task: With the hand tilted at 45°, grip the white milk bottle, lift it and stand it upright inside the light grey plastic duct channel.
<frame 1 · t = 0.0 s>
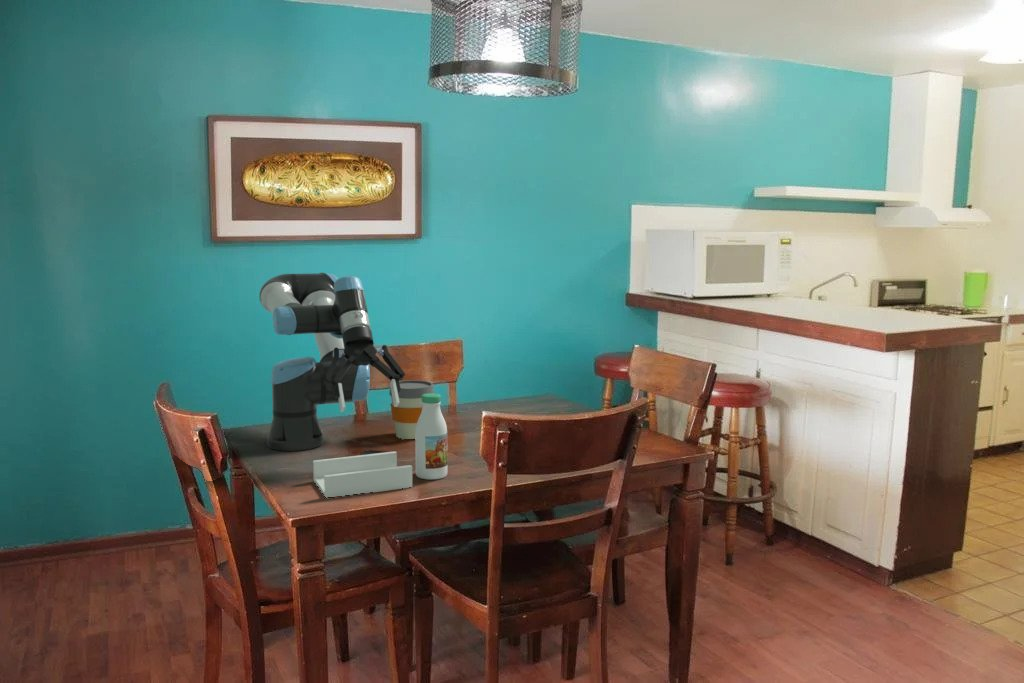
hand: (370, 407, 203), 15 cm above the table, tool tilted 35°, fingers open, 13 cm apart
phone: (368, 463, 210), on the table
duct channel: (362, 484, 192), on the table
reusable coffee cup: (412, 436, 235), on the table
milk bottle: (431, 476, 199), on the table
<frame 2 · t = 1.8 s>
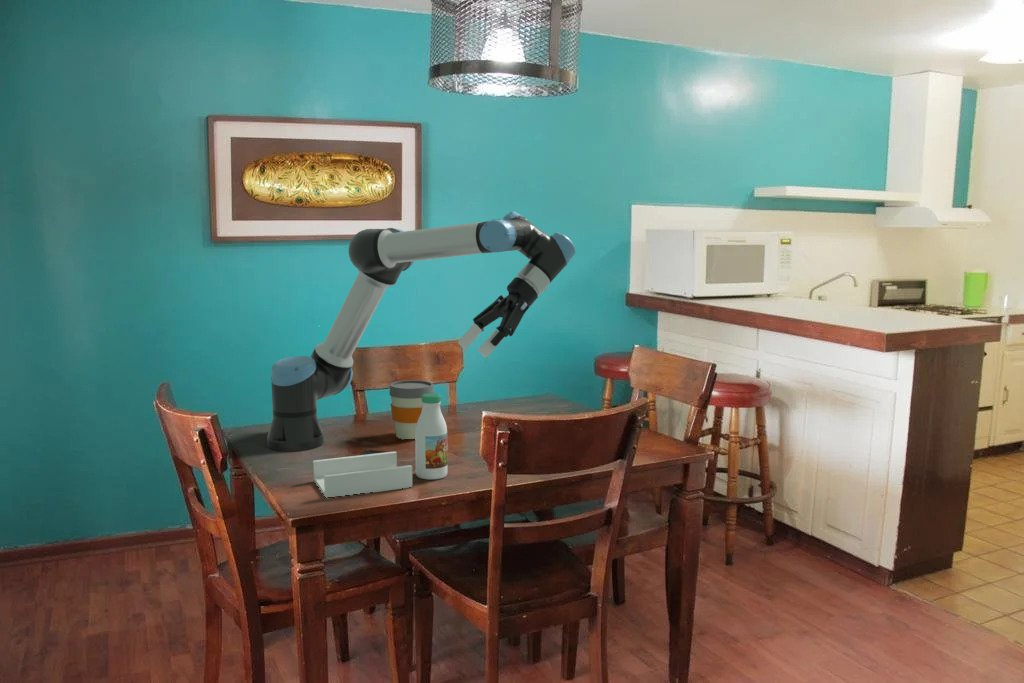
hand: (471, 350, 199), 30 cm above the table, tool tilted 45°, fingers open, 13 cm apart
nothing on the table moved.
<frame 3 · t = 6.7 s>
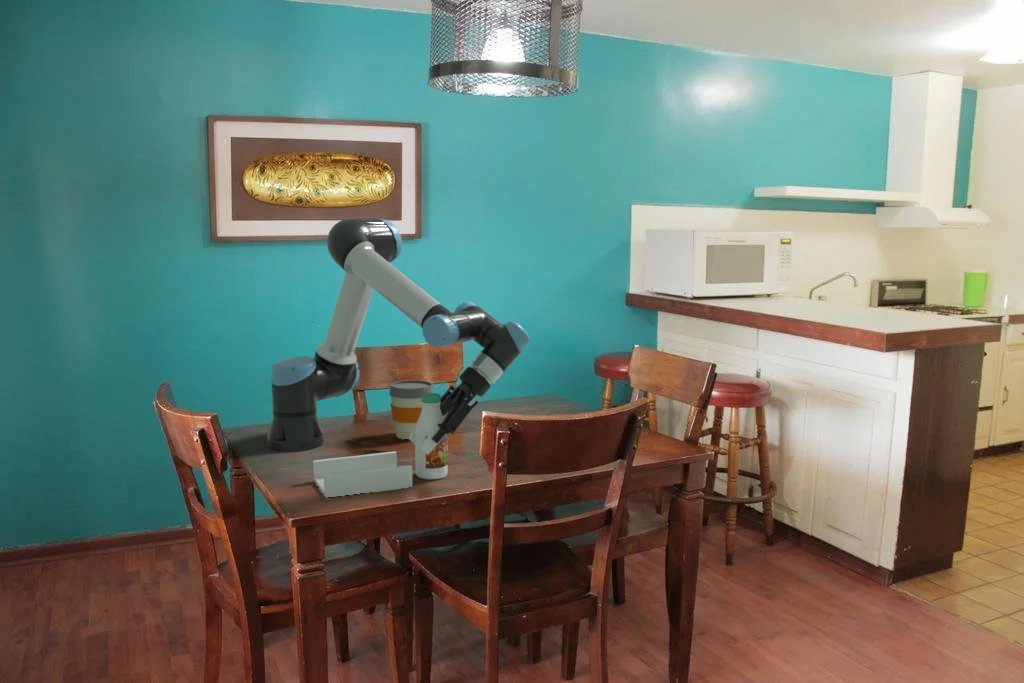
hand: (417, 446, 197), 8 cm above the table, tool tilted 45°, fingers closed on milk bottle, 8 cm apart
milk bottle: (431, 476, 199), on the table, touching gripper
everything else where it was.
when the fingers open (10 cm above the table, at t = 12.1 s): milk bottle drops 1 cm, resting on duct channel.
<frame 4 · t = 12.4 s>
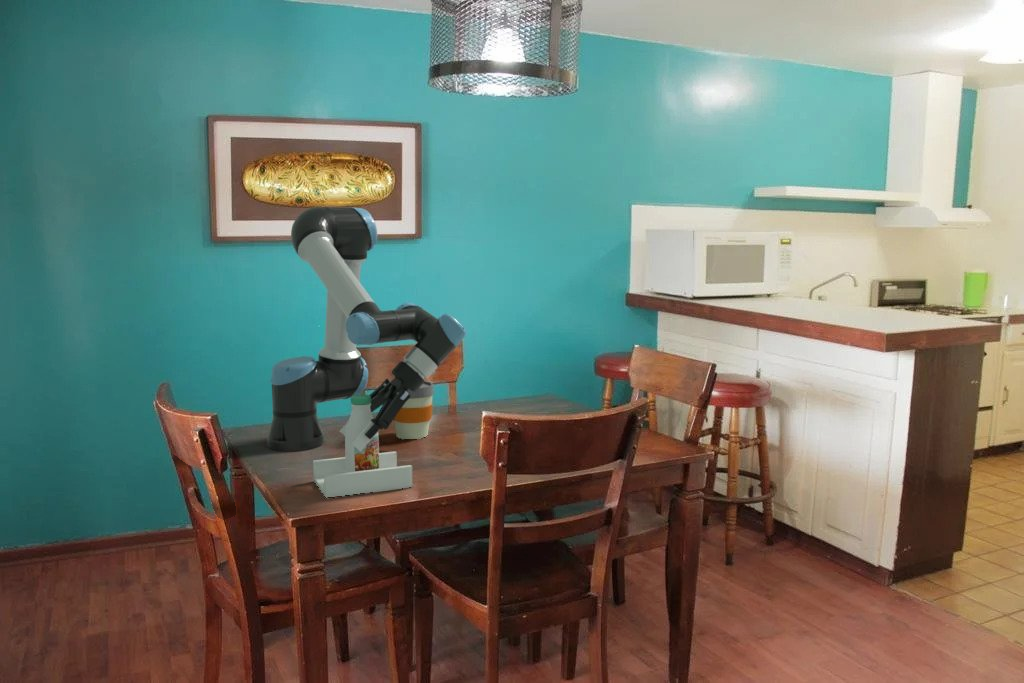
hand: (349, 441, 189), 11 cm above the table, tool tilted 45°, fingers open, 11 cm apart
milk bottle: (362, 480, 192), point 1 cm above the table, touching duct channel
everything else where it was.
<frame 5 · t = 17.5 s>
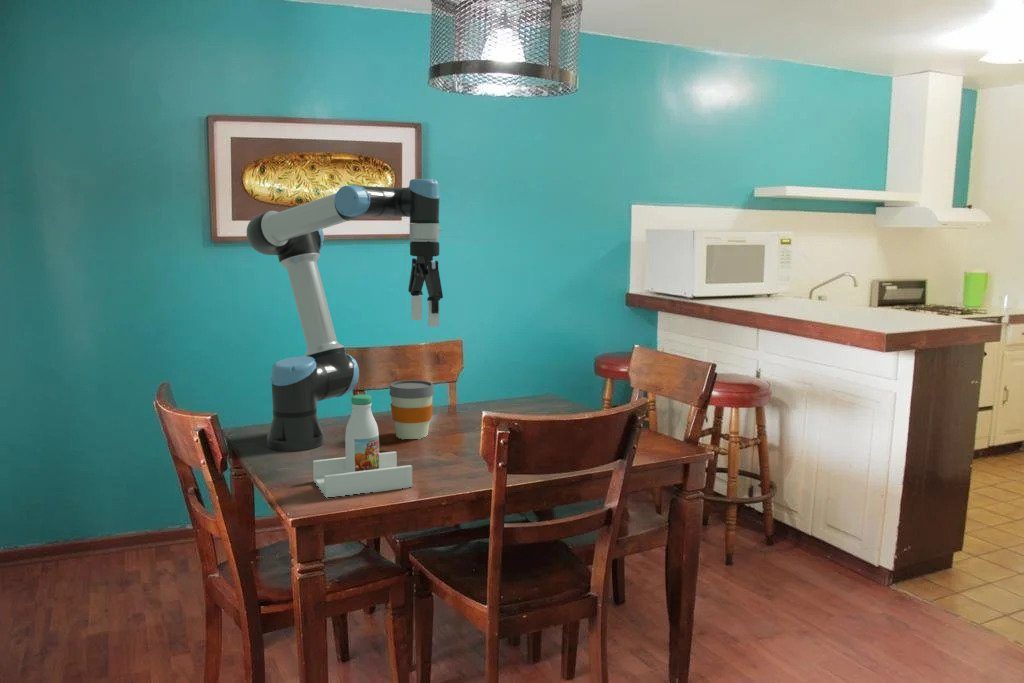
hand: (425, 323, 213), 35 cm above the table, tool pointing down, fingers open, 13 cm apart
nothing on the table moved.
at the end: milk bottle inside the target area on the duct channel (0.1 cm from its centre), point 0.8 cm above the duct channel's base; milk bottle tilted 0°; the gripper is holding nothing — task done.
